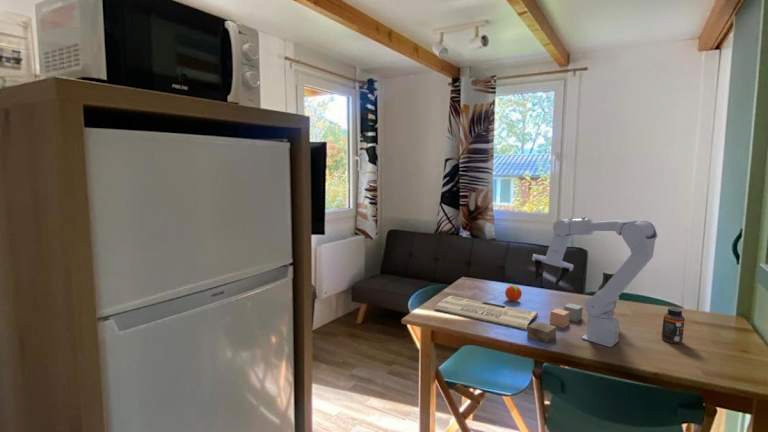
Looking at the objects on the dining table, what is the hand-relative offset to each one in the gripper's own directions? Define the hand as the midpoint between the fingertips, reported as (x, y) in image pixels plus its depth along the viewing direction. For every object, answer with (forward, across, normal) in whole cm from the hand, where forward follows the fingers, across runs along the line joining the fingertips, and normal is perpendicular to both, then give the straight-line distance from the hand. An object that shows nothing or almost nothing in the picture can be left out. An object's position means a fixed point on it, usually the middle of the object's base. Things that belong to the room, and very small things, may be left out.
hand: (545, 281), depth 160 cm
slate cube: (+13, -14, -3) cm, 20 cm away
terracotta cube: (+13, -9, +5) cm, 17 cm away
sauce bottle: (+11, -25, -2) cm, 27 cm away
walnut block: (+12, -1, +20) cm, 24 cm away
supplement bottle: (+5, -43, +9) cm, 45 cm away
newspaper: (+20, +18, +4) cm, 27 cm away
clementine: (+21, +7, -16) cm, 27 cm away
